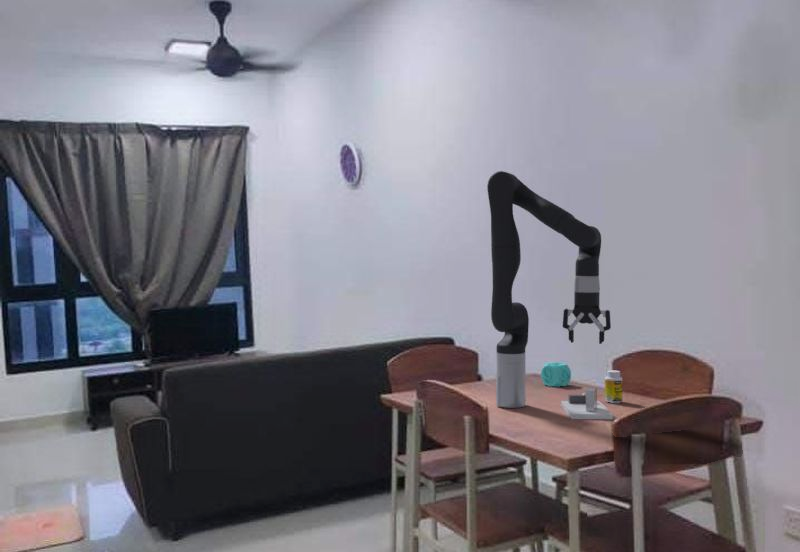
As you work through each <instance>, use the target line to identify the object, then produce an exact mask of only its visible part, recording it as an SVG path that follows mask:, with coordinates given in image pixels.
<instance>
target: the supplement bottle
mask: <svg viewBox="0 0 800 552" xmlns="http://www.w3.org/2000/svg"><path fill="white" fill-rule="evenodd" d="M606 373H607V376H605V378H604V401H605V402H606V403H608V402H610V403H609V404H621V403H622V402H623V377H622V376H621V371H620V370H614V369H613V370H607V372H606ZM620 402H621V403H620Z"/></svg>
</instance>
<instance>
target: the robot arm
mask: <svg viewBox="0 0 800 552" xmlns="http://www.w3.org/2000/svg"><path fill="white" fill-rule="evenodd" d="M486 186H487V195H488V196H487V197H488V202H489V211H490V236H491V237H490V238H491V239H490V241H491V242H490V243H491V244H490V245H491V265H492V266H491V267H492V269H491V271H492V292H491V294H492V295H491V308H490V309H491V312H490V313H491V314H490V315H491V316H490V317H491V322H492V325H493V328H494V330H497V331H498V332H500V333H504V335H503V337H502V339H501V340H500V341H499V342H497V344H496V375H495V383H496V384H495V390H496V391H495V393H496V394H495V400H496V402H495V403H496V406H497V408H511V409H516V408H524V407H525V406H527V405H526V401H527V400H526V397H527V396H526V393H527V392H526V389H527V387H526V347H527V345H528V343H529V342H528V341H529V326H530V323H529V322H530V319H529V313H528V310H527V307H526V306H525V305H524V304H523V303H521V302H513V297H512V296H513V293H512V292H513V285H514V283H515V279H516V277H517V275H518V272H519V268H520V265H521V259H522V258H521V241H520V235H519V232H518V228H517V226H516V222H515V218H514V217H515V216H514V209H513V208H514V206H513V205H515V206H517V207H519V208H522V209H524V210H525V211H526V212H528V213H529V214H531V215H532V216H533V217H535V218H536V219H537V220H539V221H540V222H541V223H542V224H544V225H546V226H547V227H548V228H550V229H551V230H553V231H554V232H556V233H558V234H560V235H562V236H563V237H564V238H566V240H568V241H570V242H571V243H573V244H574V245H575V246H576V247H578V257H577V258H576V260H575V270H574V271H575V273H574V274H575V277H574V288H573V289H574V297H573V298H574V301H573V304H574V305H573V309H569V308H564V309H563V316H562V329H566V330H567V331H568V341H569V342H570V343H574V342H575V340H574V338H575V337H574V336H575V332H574V328H575V327H576V326H577V325H578V323H580V324H588V325H589V324H590V325H591V324H594V325H595V326H596V327H597V328H598V330H599V332H598V336H599V337H598V340H599V341H598V344H600V345H602V344H603V343H604V342H605V332H607V331H609V330H610V329H611V327H612V326H611V325H612V324H611V311H610V309H605V310H601V309H600V295H601V294H600V290H601V288H600V284H601V283H600V276H599V275H600V263H599V262H600V256H601V248H602V235H601V232H600V230H599V229H598V228H597V227H595V226H592V225H588V224H587V223H584V222H583V221H581V220H579V219H578V218H576V217H575V215H573V214H572V213H570V212H569V211H567V210H565V209H564V208H562V207H560V206H559V205H557V204H555V203H553V202H552V201H549V200H548V199H546V198H544V197H542V196H540V195H539V194H537V193H536V192H534V191H533V190H531V188H529V187H528V185H526V184H524V183H523V182H522V181H521V180H520V179H519V178H518V177H517V176H516V175H515V174H513V173H510V172H507V171H503V170H501V171H500V170H499V171H496V172H493V173H492V174H491V176H490V177H489V178H488V181H487V185H486ZM572 314H573V316H574V317H575V319H574V320H573V322H572V323H571V324H568V323H569V317H570V316H571V315H572ZM601 315H602V316H603V318H605V326H604V325H603V324H602V322H601V321H600V319H598V318H599V317H600V316H601Z"/></svg>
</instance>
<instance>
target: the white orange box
mask: <svg viewBox="0 0 800 552" xmlns="http://www.w3.org/2000/svg"><path fill="white" fill-rule="evenodd" d="M597 391H598V388H597V386H587V388H586V389H585V394H586V411H594V410H595V408H597V401H598V399H597V398H598V397H597V396H598V393H597Z"/></svg>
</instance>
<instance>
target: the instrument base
mask: <svg viewBox="0 0 800 552" xmlns="http://www.w3.org/2000/svg"><path fill="white" fill-rule="evenodd" d="M567 395H568V397H567V399H568V400H561V401H560V404H561V407H562V409H563V410H564V411H565V412H566V413H567V415H568V416H569V418H570V419H571V420H614V414H613V412H612V411H610V410H609V409H608V408H607V407H606V406H605V405H604V404H603V403H601V401H600V400H597V408H595V410H594V411H586V392H583V393H582V394H567Z"/></svg>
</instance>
